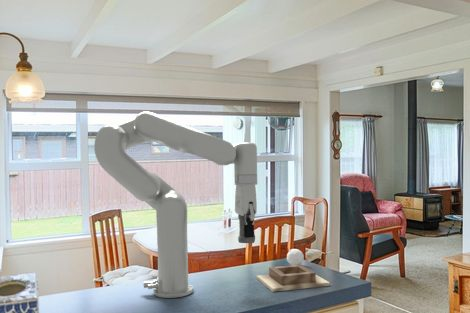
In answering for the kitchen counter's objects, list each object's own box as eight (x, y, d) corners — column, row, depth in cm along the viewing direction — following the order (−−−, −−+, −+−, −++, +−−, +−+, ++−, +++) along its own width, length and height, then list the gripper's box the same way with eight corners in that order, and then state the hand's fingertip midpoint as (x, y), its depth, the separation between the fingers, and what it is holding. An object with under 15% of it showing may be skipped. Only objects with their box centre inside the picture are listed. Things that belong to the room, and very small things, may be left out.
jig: (272, 291, 136) (272, 279, 136) (256, 278, 151) (256, 267, 151) (329, 285, 141) (329, 273, 141) (308, 273, 156) (308, 262, 156)
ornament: (301, 268, 163) (288, 253, 163) (291, 271, 169) (279, 256, 169) (310, 257, 167) (298, 242, 167) (300, 260, 173) (288, 246, 173)
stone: (254, 243, 139) (254, 212, 139) (237, 243, 140) (237, 212, 140) (255, 241, 142) (255, 211, 142) (238, 241, 143) (239, 211, 143)
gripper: (228, 179, 148) (229, 232, 148) (242, 181, 132) (243, 241, 132) (249, 178, 150) (250, 231, 150) (265, 181, 134) (266, 239, 134)
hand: (246, 235), depth 141 cm, fingers closed on stone, 4 cm apart
